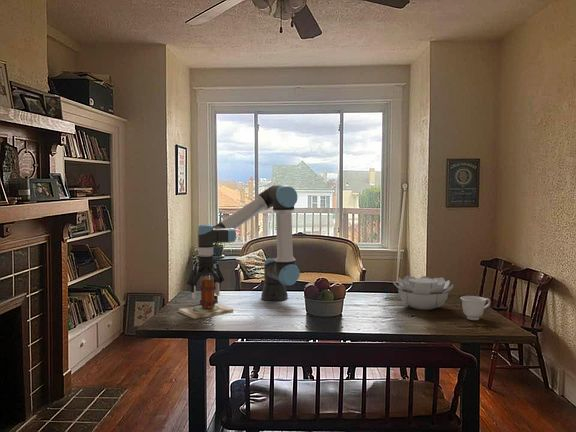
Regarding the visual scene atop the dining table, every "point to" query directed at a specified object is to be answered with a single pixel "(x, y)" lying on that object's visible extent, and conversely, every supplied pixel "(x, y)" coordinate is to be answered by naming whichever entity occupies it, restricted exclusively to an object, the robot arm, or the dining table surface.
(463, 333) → the dining table surface
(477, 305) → the teacup
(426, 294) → the decorative bowl
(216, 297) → the french press
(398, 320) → the dining table surface
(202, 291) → the mug
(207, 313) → the serving board
